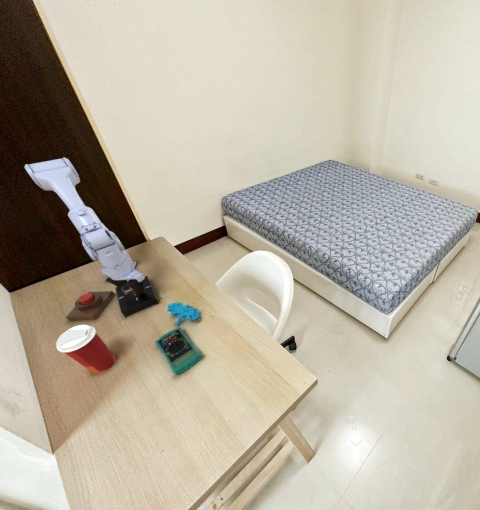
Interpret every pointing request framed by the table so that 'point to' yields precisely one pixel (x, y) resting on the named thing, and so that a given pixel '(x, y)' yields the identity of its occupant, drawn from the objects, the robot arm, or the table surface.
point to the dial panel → (137, 299)
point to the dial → (128, 291)
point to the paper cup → (86, 348)
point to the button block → (91, 307)
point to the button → (86, 298)
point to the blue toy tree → (183, 311)
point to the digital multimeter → (178, 350)
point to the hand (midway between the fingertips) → (134, 291)
